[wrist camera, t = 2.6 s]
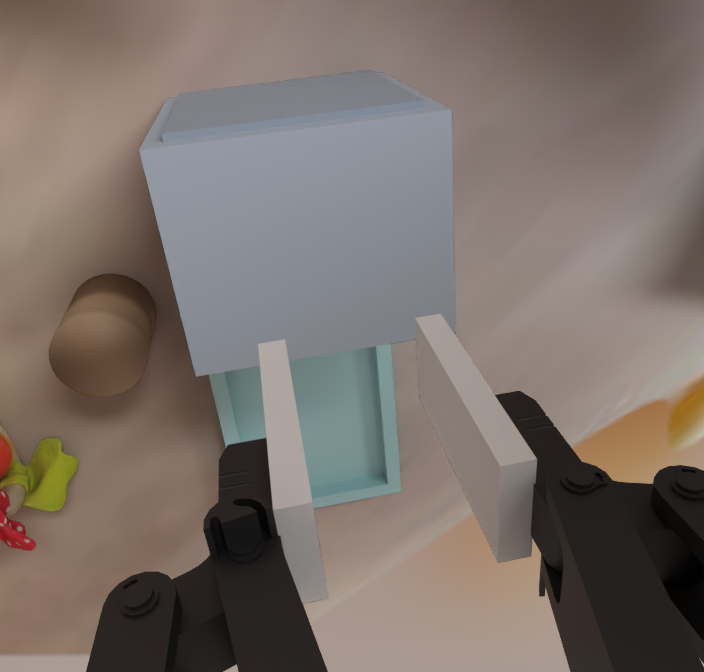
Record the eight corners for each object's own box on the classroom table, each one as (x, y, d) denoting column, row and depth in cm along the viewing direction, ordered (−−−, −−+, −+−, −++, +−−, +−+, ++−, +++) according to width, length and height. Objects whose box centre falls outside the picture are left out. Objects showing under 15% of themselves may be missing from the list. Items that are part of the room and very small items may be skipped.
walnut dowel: (61, 280, 39) (36, 325, 34) (145, 268, 39) (133, 310, 34) (85, 351, 41) (65, 403, 36) (164, 338, 42) (155, 388, 37)
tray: (196, 305, 41) (195, 319, 39) (380, 277, 42) (386, 289, 41) (243, 503, 49) (243, 522, 48) (395, 474, 51) (401, 491, 49)
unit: (165, 92, 35) (136, 142, 24) (381, 66, 36) (451, 101, 25) (205, 274, 40) (198, 385, 29) (392, 245, 41) (455, 341, 30)
